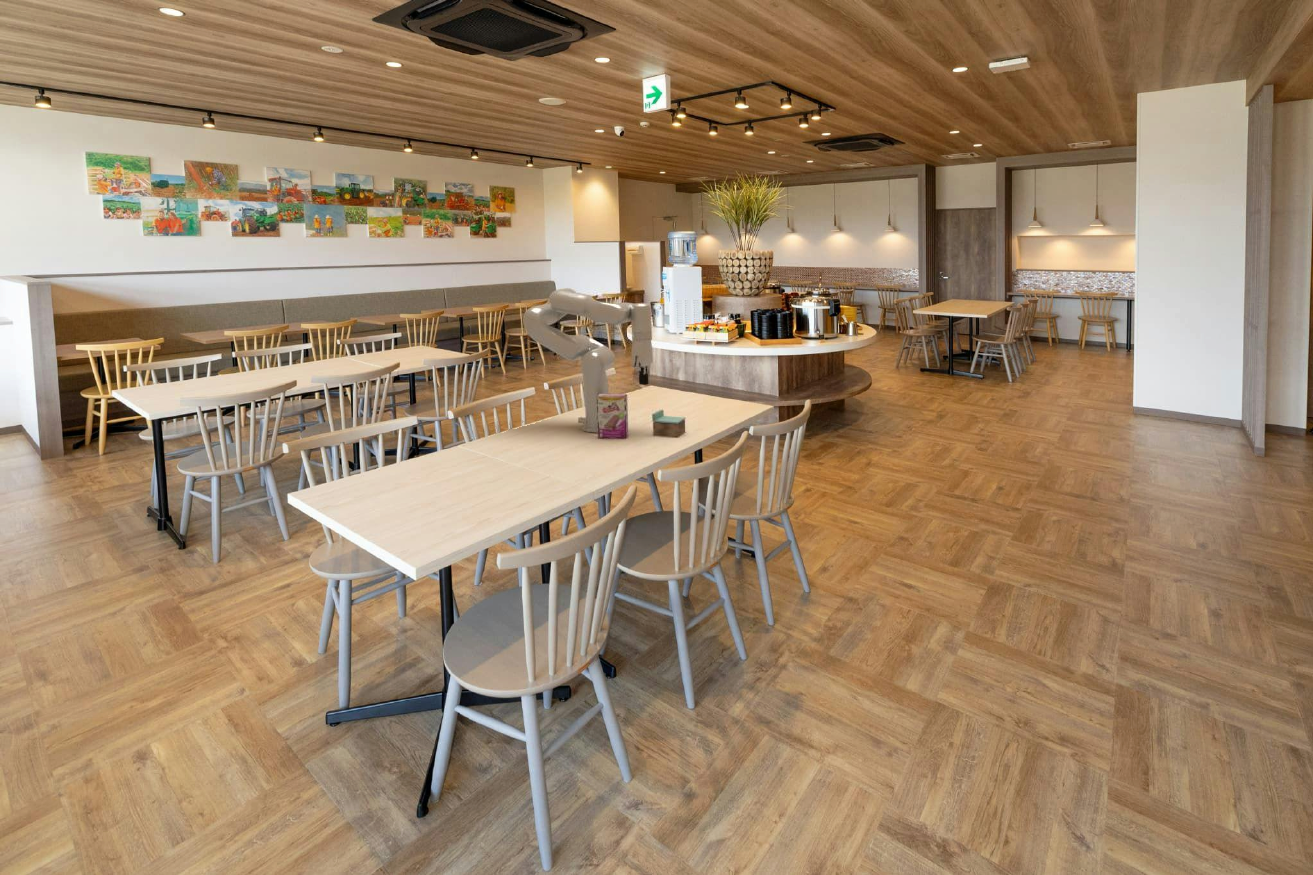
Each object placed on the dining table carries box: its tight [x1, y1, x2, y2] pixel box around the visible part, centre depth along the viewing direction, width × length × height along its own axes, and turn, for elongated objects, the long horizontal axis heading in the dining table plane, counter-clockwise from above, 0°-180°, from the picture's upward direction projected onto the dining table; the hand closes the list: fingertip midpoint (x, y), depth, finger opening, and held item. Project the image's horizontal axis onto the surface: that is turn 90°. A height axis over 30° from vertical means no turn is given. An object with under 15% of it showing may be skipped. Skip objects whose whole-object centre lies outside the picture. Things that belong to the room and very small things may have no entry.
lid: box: [651, 409, 687, 424], centre depth 281 cm, size 10×8×3 cm
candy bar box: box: [597, 393, 629, 439], centre depth 278 cm, size 11×5×16 cm, turn 84°
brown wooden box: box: [652, 419, 686, 438], centre depth 282 cm, size 10×8×5 cm
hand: (643, 384), depth 282 cm, fingers closed
